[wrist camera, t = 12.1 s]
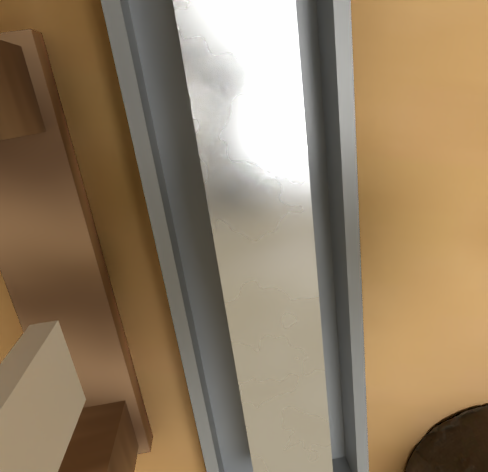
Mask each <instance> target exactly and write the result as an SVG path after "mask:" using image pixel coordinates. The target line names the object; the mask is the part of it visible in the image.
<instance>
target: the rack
mask: <svg viewBox="0 0 488 472" xmlns="http://www.w3.org/2000/svg"><path fill="white" fill-rule="evenodd" d="M0 271H1V273H2V276H3V279H4V281H5V284H6V287H7V289H8V292H9V295H10V297H11V300H12V303H13V305H14V308H15V311H16V313H17V316H18V319H19V321H20V324H21V327H22V329H23V332H25V330H26V329H27V328H28V326H29V325H32V324H38V323H45V322H51V321H57V320H58V321H59V324H60V327H61V330H62V333H63V336H64V338H65V341H66V344H67V347H68V350H69V353H70V355H71V358H72V361H73V364H74V367H75V370H76V372H77V375H78V378H79V381H80V384H81V387H82V390H83V392H84V395H85V398H86V401H85V404H84V406H83V409H82V411H81V414H80V416H79V419H78V422H77V424H76V427H75V429H74V432H73V434H72V437H71V440H70V442H69V445H68V447H67V450H66V452H65V455H64V457H63V460H62V463H61V465H60V468H59V470H58V472H134V470H135V464H136V459H137V454H141V453H147V452H151V445H152V439H153V435H152V432H151V428H150V424H149V421H148V417H147V414H146V410H145V406H144V403H143V399H142V395H141V392H140V388H139V385H138V381H137V377H136V374H135V370H134V366H133V363H132V359H131V355H130V352H129V348H128V345H127V341H126V337H125V334H124V330H123V326H122V323H121V319H120V316H119V312H118V308H117V305H116V301H115V297H114V294H113V290H112V287H111V283H110V279H109V276H108V272H107V268H106V265H105V261H104V257H103V254H102V250H101V247H100V243H99V239H98V236H97V232H96V228H95V225H94V221H93V218H92V214H91V210H90V207H89V203H88V199H87V196H86V192H85V189H84V185H83V181H82V178H81V174H80V170H79V167H78V163H77V160H76V156H75V152H74V149H73V145H72V141H71V138H70V134H69V130H68V127H67V123H66V120H65V116H64V112H63V109H62V105H61V101H60V98H59V94H58V91H57V87H56V83H55V80H54V76H53V72H52V69H51V65H50V62H49V58H48V54H47V51H46V47H45V43H44V40H43V36H42V33H40V32H37V31H35V30H32V29H26V30H19V31H11V32H3V33H0Z"/></svg>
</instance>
